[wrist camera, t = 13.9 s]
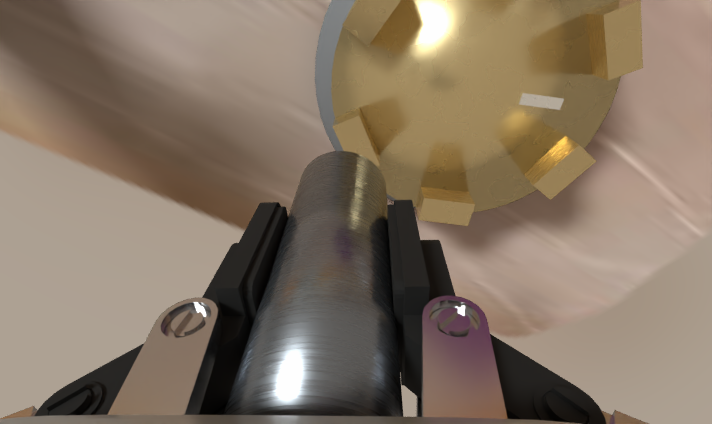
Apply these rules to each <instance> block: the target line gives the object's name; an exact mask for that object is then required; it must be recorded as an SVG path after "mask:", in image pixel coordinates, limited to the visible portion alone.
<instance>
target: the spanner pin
mask: <svg viewBox="0 0 712 424" xmlns="http://www.w3.org/2000/svg"><path fill="white" fill-rule="evenodd" d="M224 415H292V416H384V417H403V409H402V395H401V380H400V367H399V354H398V340H397V327H396V321H395V317H394V306H393V292H392V278H391V263H390V249H389V235H388V220H387V192H386V183H385V179H384V177H383V175H382V173H381V171H380V170H379V168H378V167H377V166H376V165H375V164H374V163H373V162H372V161H370V160H369V159H368V158H366V157H364V156H362V155H360V154H357V153H353V152H348V151H334V152H330V153H326V154H323V155H321V156H319V157H317V158H316V159H314V160H313V161H312V162H311V163H310V164H309V165H308V166H307V167H306V169H305V170H304V172H303V174H302V177H301V180H300V183H299V186H298V189H297V192H296V195H295V198H294V201H293V204H292V207H291V210H290V213H289V216H288V219H287V222H286V225H285V228H284V231H283V235H282V238H281V241H280V244H279V247H278V250H277V253H276V256H275V259H274V262H273V265H272V268H271V271H270V274H269V277H268V280H267V283H266V286H265V289H264V293H263V296H262V299H261V302H260V305H259V308H258V311H257V314H256V317H255V320H254V323H253V326H252V329H251V332H250V335H249V338H248V341H247V344H246V347H245V351H244V354H243V357H242V360H241V363H240V366H239V369H238V372H237V375H236V378H235V381H234V384H233V387H232V390H231V393H230V396H229V399H228V402H227V406H226V409H225V412H224Z"/></svg>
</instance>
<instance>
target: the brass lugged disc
mask: <svg viewBox="0 0 712 424" xmlns="http://www.w3.org/2000/svg"><path fill="white" fill-rule="evenodd" d="M342 25H343V27H342V30H341V32H340V36H339V39H338V43H337V46H336V50H335V54H334V61H333V67H332V81H331V94H332V104H333V112H334V116H335V119H334V122H333V126H332V127H333V129H334V131H335V133H336V135H337V137H338V140H339V142H340V144H341V146H342V148H343V151H348V152H353V153H357V154H360V155H362V156H364V157H366V158H368V159H369V160H370V161H372V162H373V163H374V164H375V165H376V166H377V167H378V168H379V170H380V171H381V173H382V175H383V177H384V179H385V183H386V192H387V194H388V195H390V196H391V197H393V198H395V199H397V200H412V202H413V207H416V211H417V215H418V220H423V221H431V222H439V223H447V224H455V225H463V226H468V224H469V221H470V219H471V216H472V213H473V212H478V211H484V210H489V209H492V208H496V207H500V206H503V205H506V204H508V203H511V202H514V201H516V200H518V199H520V198H522V197H524V196H526V195H528V194H530V193H532V192H534V191H536V190H537V189H538V190H539V191H540V192H541V193H543V194H544V195H545V196H546V197H547V198H549V199H550V200H551V199H552V198H553V197H555V196H556V195H557V194H558V193H559V192H561V191H562V190H563V189H564V188H565V187H567V186H568V185H569V184H570V183H571V182H572V181H574V180H575V179H576V178H577V177H578V176H580V175H581V174H582V173H583V172H584V171H586V170H587V169H588V168H589V167H590V166H592V165H593V164H594V163H595V162H596V160H595V159H594V158H593V157H592V156H591V155H589V154H588V153H587V152H586V151H585V150H584V148H585V147H586V146H587V145H588V144H589V142H590V141H591V139H592V138H593V136H594V135H595V134H596V132H597V131H598V129H599V128H600V126H601V124H602V122H603V120H604V118H605V117H606V115H607V113H608V111H609V109H610V106H611V104H612V101H613V99H614V97H615V94H616V91H617V88H618V84H619V81H620V77H621V76H622V75H625V74H627V73H630V72H633V71H635V70H638V69H641V68H643V61H642V30H641V0H355V2H354V4H353V6H352V7H351V9H350V11H349V13H348V15H347V18H346V20H345V21H344V23H343V24H342Z"/></svg>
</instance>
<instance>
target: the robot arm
mask: <svg viewBox="0 0 712 424" xmlns="http://www.w3.org/2000/svg"><path fill="white" fill-rule="evenodd" d="M287 219H288V216H287V210H286V207H281V206H280V204H279V203H278V202H277V203H260V204H259V206H258V208H257V210H256V212H255V214H254V215H253V217H252V219H251V221H250V223H249V225H248V227H247V228H246V230H245V232H244V234H243V236H242V238H241V240H240V242H239V243H234V244H233V245H232V246H231V247H230V249H229V251H228V253H227V254H226V256H225V258H224V260H223V262H222V263H221V265H220V267H219V269H218V270H217V272H216V274H215V276H214V278H213V280H212V281H211V283H210V285H209V287H208V288H207V290H206V292H205V294H204V295H203V297H202V298H191V299H186V300H183V301H181V302H178V303H176V304H174V305H172V306H171V307H169V308H168V309H166V310H165V311H164V312H163V313H162V314H161V315H160V316H159V318H158V319H157V320H156V322H155V324H154V326H153V327H152V330H151V331H150V333H149V335H148V337H147V339H146V341H145V343H144V344H142V345H140V346H139V347H137V348H135V349H133V350H131V351H129V352H127V353H126V354H124V355H122V356H120V357H118V358H116V359H114V360H113V361H111V362H109V363H107V364H105V365H103V366H102V367H100V368H98V369H96V370H94V371H93V372H91V373H89V374H87V375H85V376H83V377H81V378H80V379H78V380H76V381H74V382H72V383H70V384H68V385H67V386H65V387H63V388H62V389H60V390H59V391H57V392H56V393H54V394H53V395H52V396H51V397H50V398H49V399H48V400H46V401H45V402H44V403H43V405H42V406H41V407H40V408H39V410H37V409H36V408H35V407H34V406H32V407H29V408H27V409H24V410H21V411H19V412H16V413H13V414H11V415H8V416H5V417H3V418H0V424H648V423H646V422H643V421H641V420H638V419H636V418H633V417H631V416H628V415H626V414H623V413H621V412H618V411H616V410H615V411H614V413H613V415H611V414H609V413H606V412H604V411H601V409H600V408H599V406H598V405H597V404H596V403H595V402H594V400H593V399H592V398H591V397H590V396H589V395H587V394H586V393H585V392H583V391H582V390H581V389H579V388H578V387H576V386H575V385H573V384H571V383H570V382H568V381H567V380H565V379H563V378H562V377H560V376H558V375H557V374H555V373H553V372H552V371H550V370H548V369H547V368H545V367H543V366H542V365H540V364H538V363H537V362H535V361H534V360H532V359H530V358H529V357H527V356H525V355H524V354H522V353H520V352H519V351H517V350H516V349H514V348H512V347H510V346H509V345H507V344H506V343H504V342H502V341H501V340H499V339H497V338H496V337H494V336H492V335H491V334H490V332H489V327H488V322H487V319H486V316H485V314H484V312H483V311H482V310H481V309H480V308H479V307H478V306H477V305H476V304H474V303H473V302H471V301H470V300H467V299H465V298H462V297H457V296H455V293H454V289H453V286H452V282H451V279H450V275H449V272H448V268H447V264H446V261H445V257H444V254H443V250H442V247H441V244H440V241H439V240H420V236H419V231H418V227H417V222H416V217H415V212H414V207H413V202H412V200H394V205H388V206H387V220H388V235H389V249H390V263H391V278H392V292H393V306H394V317H395V321H396V327H397V340H398V354H399V367H400V372H401V383H402V385H405V386H406V387H407V388H408V389H409V390H410V391H412V392H413V393H414V394H415V395H416V396H417V417H384V416H292V415H224V412H225V409H226V406H227V402H228V399H229V396H230V393H231V390H232V387H233V384H234V381H235V378H236V375H237V372H238V369H239V366H240V363H241V360H242V357H243V354H244V351H245V347H246V344H247V341H248V338H249V335H250V332H251V329H252V326H253V323H254V320H255V317H256V314H257V311H258V308H259V305H260V302H261V299H262V296H263V293H264V289H265V286H266V283H267V280H268V277H269V274H270V271H271V268H272V265H273V262H274V259H275V256H276V253H277V250H278V247H279V244H280V241H281V238H282V235H283V231H284V228H285V225H286V222H287Z"/></svg>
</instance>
